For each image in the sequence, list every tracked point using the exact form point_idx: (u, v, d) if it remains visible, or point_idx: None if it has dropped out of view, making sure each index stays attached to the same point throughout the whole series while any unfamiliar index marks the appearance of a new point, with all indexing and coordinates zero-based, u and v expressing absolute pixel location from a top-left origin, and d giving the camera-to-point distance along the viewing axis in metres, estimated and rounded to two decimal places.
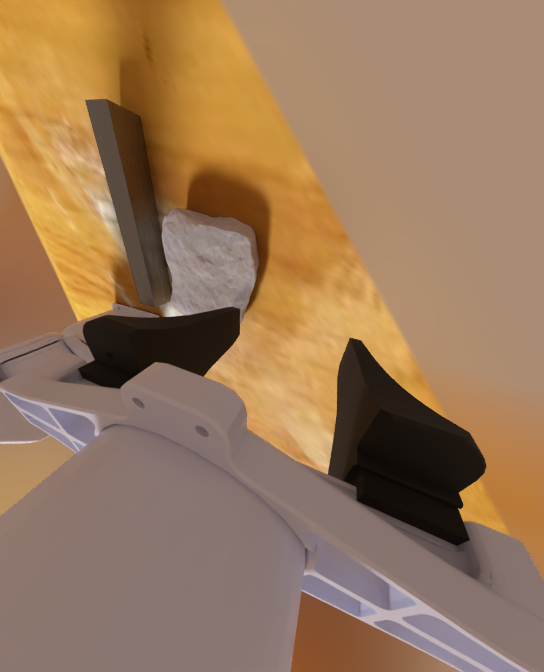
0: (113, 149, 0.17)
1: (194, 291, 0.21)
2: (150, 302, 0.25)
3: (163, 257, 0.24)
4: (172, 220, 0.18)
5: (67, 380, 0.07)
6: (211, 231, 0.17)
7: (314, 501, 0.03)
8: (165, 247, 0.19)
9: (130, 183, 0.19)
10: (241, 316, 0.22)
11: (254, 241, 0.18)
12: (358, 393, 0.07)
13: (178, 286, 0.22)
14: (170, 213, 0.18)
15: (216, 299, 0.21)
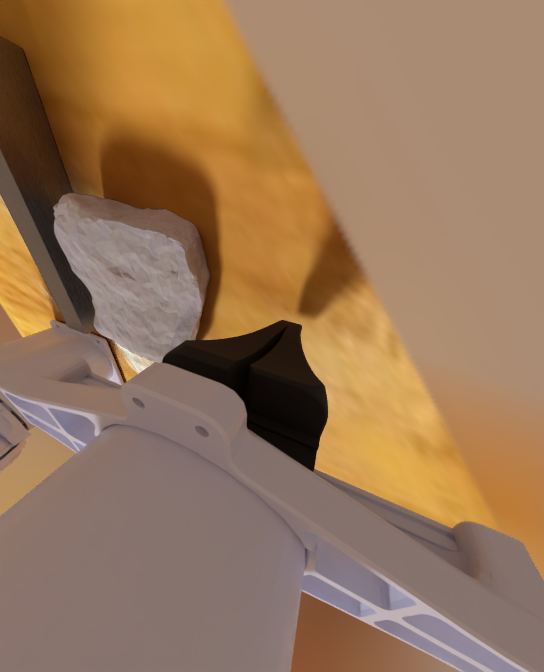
0: None
1: (120, 315, 0.15)
2: (79, 327, 0.18)
3: None
4: (62, 212, 0.11)
5: (67, 380, 0.07)
6: (119, 230, 0.11)
7: (314, 501, 0.03)
8: (65, 253, 0.13)
9: (14, 156, 0.12)
10: None
11: (193, 246, 0.12)
12: None
13: (99, 307, 0.15)
14: (59, 201, 0.11)
15: (149, 327, 0.15)
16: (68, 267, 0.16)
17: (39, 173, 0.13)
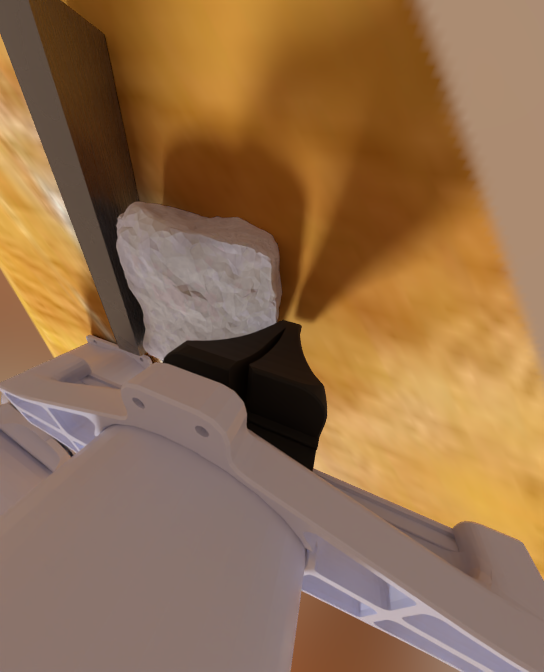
0: (48, 91, 0.09)
1: (177, 336, 0.13)
2: (133, 349, 0.16)
3: None
4: (130, 224, 0.10)
5: (67, 380, 0.07)
6: (200, 244, 0.09)
7: (314, 501, 0.03)
8: (124, 269, 0.11)
9: (89, 162, 0.10)
10: None
11: (277, 260, 0.10)
12: None
13: (152, 326, 0.14)
14: (126, 211, 0.10)
15: None
16: None
17: (111, 181, 0.11)
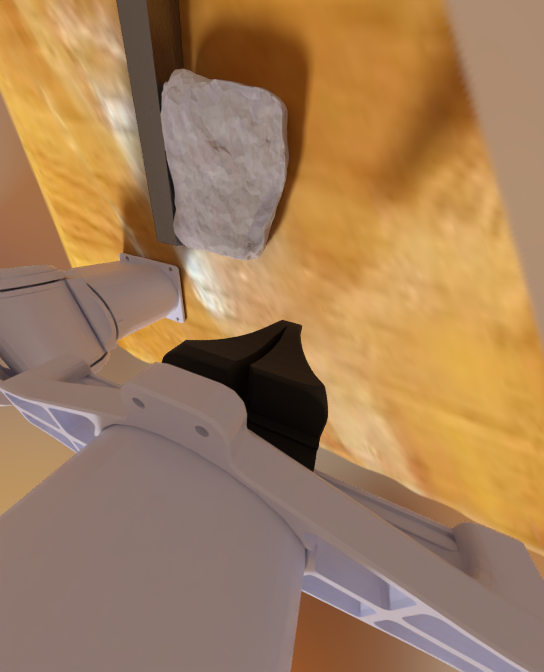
0: None
1: (203, 205, 0.17)
2: (171, 238, 0.19)
3: None
4: (174, 84, 0.13)
5: (67, 380, 0.07)
6: (228, 91, 0.12)
7: (314, 501, 0.03)
8: (165, 135, 0.15)
9: (156, 41, 0.13)
10: (264, 238, 0.17)
11: (286, 115, 0.13)
12: None
13: (183, 201, 0.17)
14: (171, 75, 0.13)
15: (232, 212, 0.16)
16: None
17: (168, 65, 0.14)
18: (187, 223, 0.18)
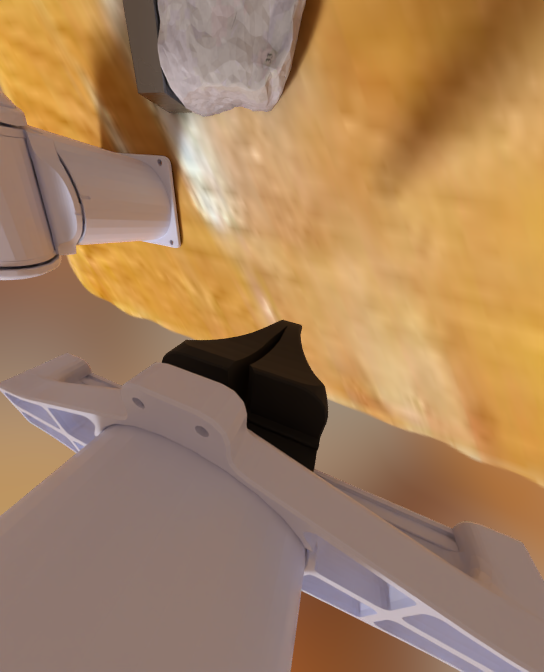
0: None
1: None
2: (156, 81, 0.14)
3: None
4: None
5: (67, 380, 0.07)
6: None
7: (314, 501, 0.03)
8: None
9: None
10: (292, 36, 0.11)
11: None
12: None
13: None
14: None
15: None
16: None
17: None
18: (177, 37, 0.12)
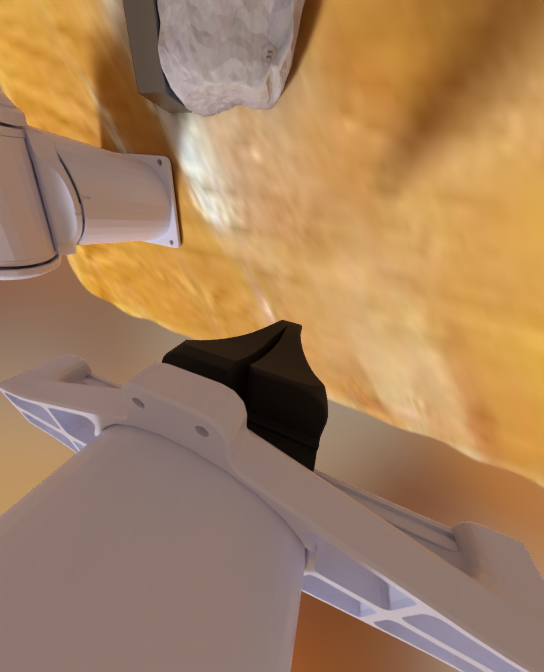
0: None
1: None
2: (156, 81, 0.14)
3: None
4: None
5: (67, 380, 0.07)
6: None
7: (314, 501, 0.03)
8: None
9: None
10: (293, 32, 0.11)
11: None
12: None
13: None
14: None
15: None
16: None
17: None
18: (177, 38, 0.12)
